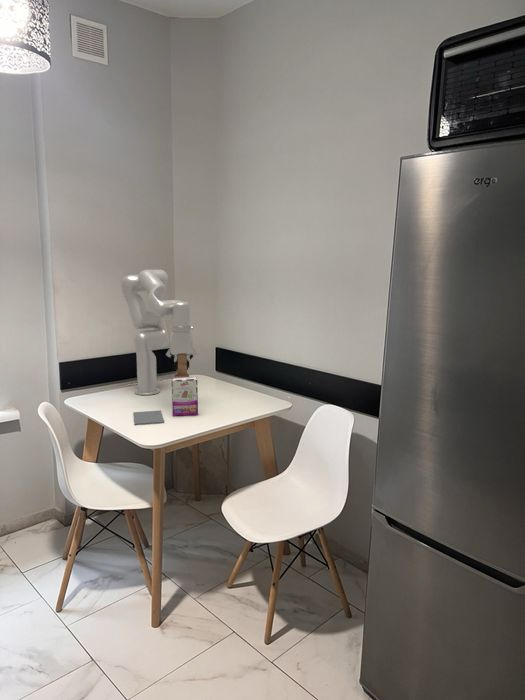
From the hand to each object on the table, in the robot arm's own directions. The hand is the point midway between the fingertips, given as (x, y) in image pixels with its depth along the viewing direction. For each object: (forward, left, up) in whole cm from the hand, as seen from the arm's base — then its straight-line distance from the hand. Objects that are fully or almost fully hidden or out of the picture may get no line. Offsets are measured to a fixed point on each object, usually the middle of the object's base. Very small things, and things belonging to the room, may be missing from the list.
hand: (181, 369), depth 231 cm
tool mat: (+12, -16, -18) cm, 27 cm away
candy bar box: (+10, 0, -18) cm, 21 cm away
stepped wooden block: (0, 0, -4) cm, 4 cm away
